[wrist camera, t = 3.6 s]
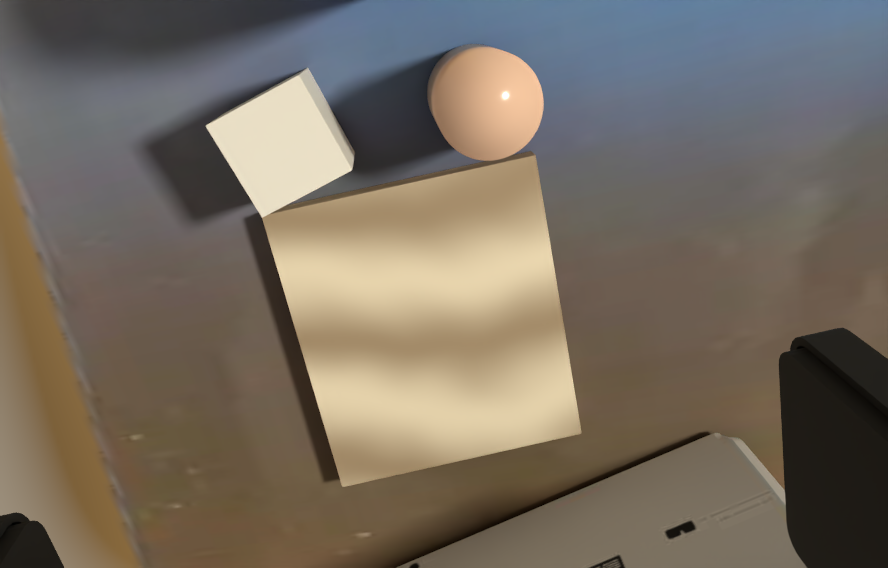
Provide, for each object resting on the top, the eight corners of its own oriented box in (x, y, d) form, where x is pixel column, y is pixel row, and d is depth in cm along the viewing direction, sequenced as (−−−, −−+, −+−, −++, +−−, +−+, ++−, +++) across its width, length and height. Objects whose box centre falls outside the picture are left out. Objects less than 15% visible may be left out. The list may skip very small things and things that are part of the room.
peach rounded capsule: (418, 55, 32) (424, 62, 28) (511, 34, 32) (533, 38, 28) (437, 148, 34) (447, 170, 29) (526, 128, 34) (551, 148, 29)
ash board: (264, 210, 34) (261, 216, 33) (530, 151, 34) (535, 155, 33) (343, 475, 39) (342, 486, 38) (576, 423, 39) (581, 433, 38)
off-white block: (225, 112, 33) (205, 125, 29) (308, 67, 32) (298, 75, 29) (274, 194, 34) (262, 217, 30) (355, 152, 34) (352, 170, 30)
